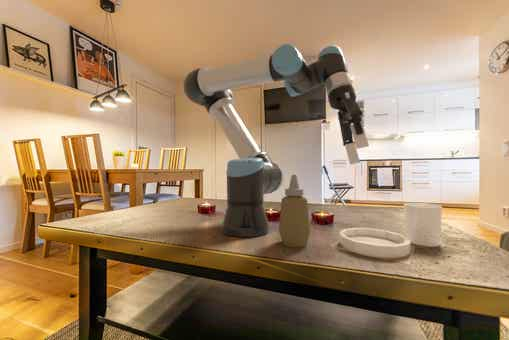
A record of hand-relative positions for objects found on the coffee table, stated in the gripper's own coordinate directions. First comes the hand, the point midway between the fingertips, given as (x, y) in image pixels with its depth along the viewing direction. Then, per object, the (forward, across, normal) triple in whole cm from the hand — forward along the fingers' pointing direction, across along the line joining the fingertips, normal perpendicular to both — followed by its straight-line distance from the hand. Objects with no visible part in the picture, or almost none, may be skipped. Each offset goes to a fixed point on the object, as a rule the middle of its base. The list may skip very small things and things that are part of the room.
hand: (358, 156), depth 61 cm
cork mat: (+24, 0, +3) cm, 24 cm away
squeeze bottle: (+21, -3, +21) cm, 30 cm away
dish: (+23, 0, +3) cm, 24 cm away
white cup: (+25, +7, -10) cm, 28 cm away
